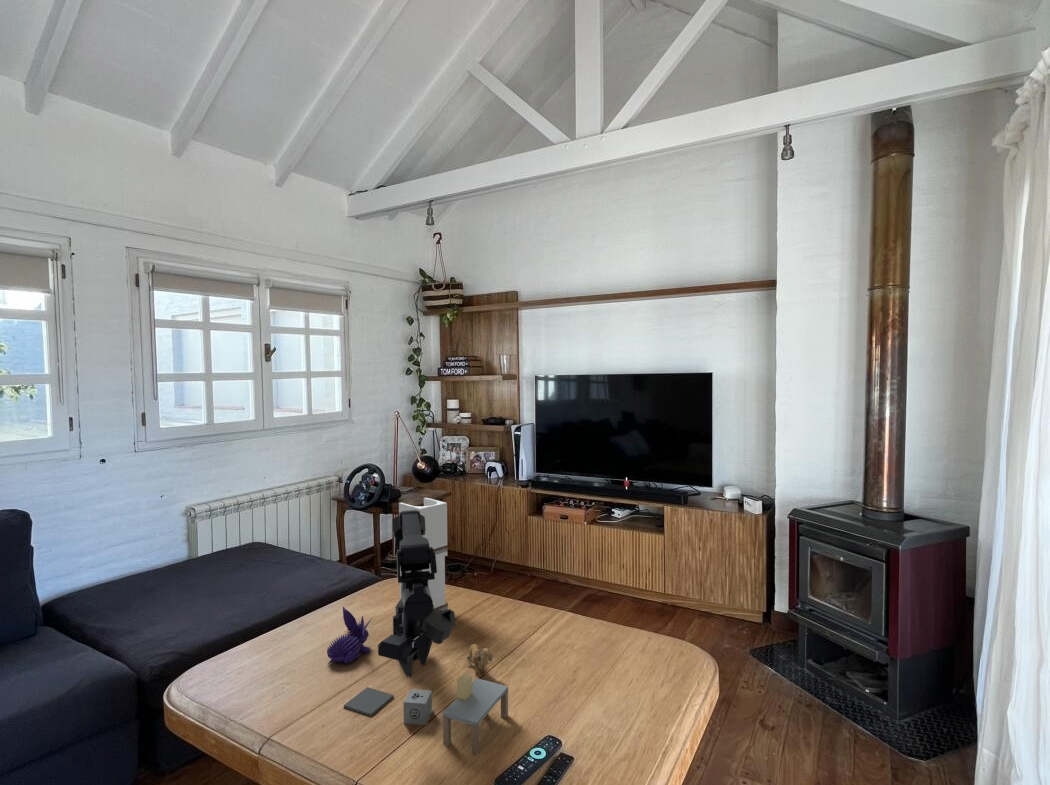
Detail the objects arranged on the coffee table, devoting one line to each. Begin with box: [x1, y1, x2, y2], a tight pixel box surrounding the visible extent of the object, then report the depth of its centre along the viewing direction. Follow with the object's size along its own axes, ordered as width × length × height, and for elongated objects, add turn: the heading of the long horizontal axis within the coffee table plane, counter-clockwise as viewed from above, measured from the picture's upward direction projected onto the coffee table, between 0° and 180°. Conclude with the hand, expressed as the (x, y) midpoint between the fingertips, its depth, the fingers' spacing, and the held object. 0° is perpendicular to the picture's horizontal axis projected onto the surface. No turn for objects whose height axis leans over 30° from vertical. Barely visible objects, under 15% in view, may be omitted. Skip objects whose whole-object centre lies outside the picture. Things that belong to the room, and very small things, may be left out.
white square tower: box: [398, 497, 449, 611], centre depth 179 cm, size 11×11×35 cm
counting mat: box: [343, 686, 395, 717], centre depth 129 cm, size 8×8×1 cm
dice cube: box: [402, 688, 433, 726], centre depth 123 cm, size 5×5×5 cm
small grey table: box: [442, 672, 509, 756], centre depth 119 cm, size 8×14×11 cm, turn 155°
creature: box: [326, 606, 373, 665], centre depth 151 cm, size 9×18×12 cm, turn 154°
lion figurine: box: [466, 643, 495, 677], centre depth 143 cm, size 12×4×7 cm, turn 32°
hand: (416, 670), depth 121 cm, fingers open, 5 cm apart
